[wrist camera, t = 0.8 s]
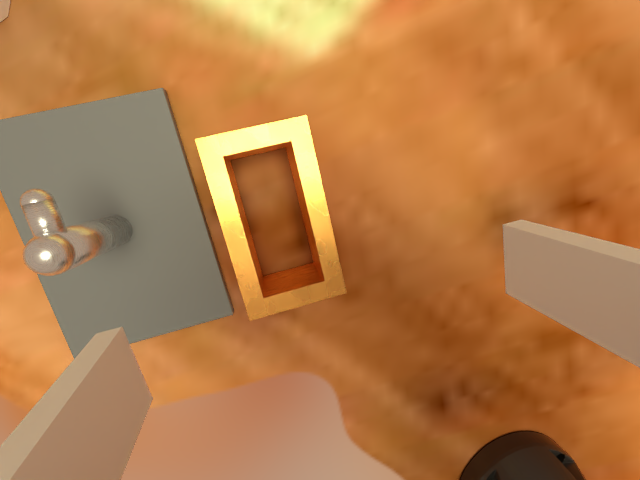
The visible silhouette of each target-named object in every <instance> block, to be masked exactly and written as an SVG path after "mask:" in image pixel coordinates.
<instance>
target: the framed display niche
mask: <svg viewBox="0 0 640 480" xmlns="http://www.w3.org/2000/svg"><path fill="white" fill-rule="evenodd" d="M195 141H196V145H197V148H198V151H199V155H200V158H201V161H202V165H203V168H204V171H205V175H206V178H207V181H208V184H209V188H210V191H211V194H212V198H213V201H214V204H215V208H216V211H217V214H218V218H219V221H220V224H221V228H222V231H223V234H224V238H225V241H226V244H227V248H228V251H229V254H230V258H231V261H232V264H233V268H234V271H235V274H236V278H237V281H238V284H239V288H240V291H241V294H242V298H243V301H244V304H245V308H246V311H247V314H248V318H249V321H252V320H255V319H259V318H262V317H266V316H269V315H273V314H276V313H280V312H283V311H287V310H290V309H293V308H297V307H300V306H304V305H307V304H311V303H314V302H318V301H321V300H325V299H328V298H332V297H335V296H339V295H342V294H346V293H347V292H346V287H345V283H344V278H343V274H342V270H341V265H340V261H339V256H338V252H337V248H336V243H335V239H334V234H333V230H332V225H331V221H330V217H329V212H328V208H327V203H326V199H325V195H324V190H323V186H322V181H321V177H320V172H319V168H318V164H317V159H316V155H315V150H314V146H313V142H312V137H311V133H310V128H309V124H308V119H307V115H305V116H300V117H295V118H291V119H286V120H282V121H277V122H273V123H268V124H263V125H259V126H254V127H250V128H245V129H240V130H236V131H231V132H227V133H222V134H217V135H213V136H208V137H204V138H199V139H195ZM282 148H286V151H287V155H288V160H289V164H290V168H291V172H292V176H293V180H294V184H295V188H296V192H297V196H298V200H299V205H300V209H301V213H302V217H303V221H304V225H305V229H306V233H307V237H308V241H309V245H310V250H311V254H312V258H313V262H314V263H310V264H306V265H302V266H299V267H295V268H291V269H288V270H284V271H280V272H277V273H273V274H269V275H266V276H263V275H262V271H261V267H260V264H259V260H258V257H257V253H256V250H255V246H254V243H253V239H252V235H251V232H250V228H249V225H248V221H247V218H246V214H245V211H244V207H243V204H242V200H241V196H240V193H239V189H238V186H237V182H236V179H235V175H234V172H233V168H232V165H231V161H230V160H234V159H238V158H242V157H247V156H251V155H256V154H260V153H264V152H269V151H273V150H278V149H282Z"/></svg>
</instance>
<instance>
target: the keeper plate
mask: <svg viewBox="0 0 640 480" xmlns="http://www.w3.org/2000/svg"><path fill="white" fill-rule="evenodd" d="M35 188H37V189H43V190H46V191H48V192H49V193H51V194H52V195H53V197H54V198H55V200H56V203H57V205H58V208H59V210H60V213H61V215H62V218H63V220H64V223H65V225H66V227H69V226H73V225H77V224H81V223H85V222H88V221H92V220H96V219H100V218H104V217H108V216H112V215H118V216H122V217H124V218H126V219H127V220H128V221H129V222H130V224H131V226H132V230H133V233H132V236H131V238H130V239H129V241H127V242H126V243H124V244H122V245H120V246H118V247H116V248H114V249H112V250H110V251H108V252H106V253H103V254H101V255H99V256H97V257H95V258H93V259H91V260H89V261H87V262H85V263H83V264H81V265H79V266H77V267H75V268H73V269H71V270H69V271H67V272H64V273H62V274H59V275H54V276H46V275H41V274H38V273H37V275H38V277H39V279H40V282H41V284H42V286H43V289H44V291H45V293H46V295H47V298H48V300H49V302H50V305H51V307H52V309H53V311H54V314H55V316H56V318H57V321H58V323H59V325H60V327H61V330H62V332H63V334H64V337H65V339H66V341H67V343H68V346H69V348H70V350H71V352H72V355H73V357H74V359H75V358H76V357H77V355H78V354H79V353H80V352H81V351H82V349H83V348H84V347H85V346H86V345H87V344H88V342H89V341H90V340H91V339H92V338H93V336H94V335H95V334H96V333H100V332H104V331H108V330H111V329H115V328H119V327H123V330H124V332H125V334H126V337H127V339H128V342H129V344H131V343H134V342H138V341H141V340H145V339H148V338H152V337H155V336H159V335H163V334H166V333H170V332H173V331H177V330H180V329H184V328H187V327H191V326H194V325H198V324H201V323H205V322H208V321H212V320H215V319H219V318H223V317H226V316H230V315H233V312H234V309H233V306H232V303H231V300H230V296H229V293H228V290H227V287H226V283H225V280H224V277H223V274H222V270H221V267H220V264H219V261H218V258H217V254H216V251H215V248H214V245H213V241H212V238H211V235H210V232H209V228H208V225H207V222H206V219H205V216H204V212H203V209H202V206H201V203H200V199H199V196H198V193H197V190H196V186H195V183H194V180H193V177H192V174H191V170H190V167H189V164H188V161H187V157H186V154H185V151H184V148H183V144H182V141H181V138H180V135H179V132H178V128H177V125H176V122H175V119H174V115H173V112H172V109H171V106H170V102H169V99H168V96H167V93H166V91H165V90H164V89H163V88H159V89H154V90H149V91H144V92H139V93H134V94H129V95H124V96H119V97H113V98H108V99H103V100H98V101H93V102H88V103H83V104H78V105H73V106H68V107H63V108H58V109H53V110H48V111H43V112H37V113H32V114H27V115H22V116H17V117H12V118H7V119H2V120H0V191H1V193H2V195H3V197H4V200H5V202H6V204H7V206H8V209H9V211H10V213H11V216H12V218H13V220H14V222H15V225H16V227H17V229H18V232H19V234H20V236H21V238H22V241H23V243H24V245H26V244H27V242H28V241H29V240H30V239H32V238H33V237H34V236H33V234H32V231H31V229H30V227H29V224H28V222H27V220H26V217H25V215H24V213H23V210H22V208H21V205H20V197H21V196H22V194H23V193H24V192H26V191H27V190H30V189H35Z"/></svg>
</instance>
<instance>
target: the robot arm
mask: <svg viewBox="0 0 640 480" xmlns="http://www.w3.org/2000/svg"><path fill="white" fill-rule="evenodd" d="M503 241H504V263H505V285H506V294H508V295H510V296H512V297H514V298H515V299H517V300H519V301H521V302H523V303H524V304H526V305H528V306H530V307H532V308H533V309H535V310H537V311H539V312H541V313H542V314H544V315H546V316H548V317H550V318H551V319H553V320H555V321H557V322H559V323H560V324H562V325H564V326H566V327H568V328H569V329H571V330H573V331H575V332H577V333H578V334H580V335H582V336H584V337H586V338H587V339H589V340H591V341H593V342H595V343H596V344H598V345H600V346H602V347H604V348H605V349H607V350H609V351H611V352H613V353H614V354H616V355H618V356H620V357H622V358H623V359H625V360H627V361H629V362H631V363H632V364H634V365H636V366H638V367H640V249H637V248H633V247H629V246H625V245H621V244H617V243H613V242H609V241H605V240H601V239H597V238H593V237H589V236H585V235H581V234H577V233H573V232H569V231H565V230H561V229H557V228H553V227H549V226H545V225H541V224H537V223H533V222H529V221H525V220H518V221H514V222H510V223H507V224H503ZM152 400H153V398H152V396H151V393H150V391H149V389H148V386H147V384H146V382H145V379H144V377H143V375H142V372H141V370H140V367H139V365H138V363H137V360H136V358H135V356H134V353H133V351H132V349H131V346H130V344H129V342H128V339H127V337H126V334H125V332H124V330H123V327H119V328H115V329H111V330H108V331H104V332H100V333H96V334H95V335H94V336H93V338H92V339H91V340H90V341H89V342H88V344H87V345H86V346H85V347H84V348H83V349H82V351H81V352H80V353H79V354H78V355H77V357H76V358H75V359H74V360H73V361H72V362H71V364H70V365H69V366H68V367H67V368H66V369H65V371H64V372H63V373H62V374H61V375H60V377H59V378H58V379H57V380H56V381H55V382H54V384H53V385H52V386H51V387H50V388H49V389H48V391H47V392H46V393H45V394H44V395H43V397H42V398H41V399H40V400H39V401H38V402H37V404H36V405H35V406H34V407H33V408H32V409H31V411H30V412H29V413H28V414H27V415H26V417H25V418H24V419H23V420H22V421H21V422H20V424H19V425H18V426H17V427H16V428H15V430H14V431H13V432H12V433H11V434H10V436H9V437H8V438H7V439H6V440H5V441H4V442H3V444H2V445H1V446H0V480H121V478H122V475H123V473H124V470H125V468H126V465H127V463H128V460H129V458H130V455H131V453H132V450H133V447H134V445H135V442H136V440H137V437H138V435H139V432H140V430H141V427H142V425H143V422H144V420H145V417H146V415H147V412H148V410H149V407H150V405H151V402H152ZM460 480H586V479H585V477H584V476H583V474H582V473H581V471H580V469H579V468H578V466H577V465H576V463H575V462H574V460H573V459H572V458H571V457H570V455H569V454H568V453H567V452H566V451H564V450H563V449H562V448H561V447H560V446H559V445H558V444H557V443H556V442H555V441H553V440H552V439H551V438H549V437H548V436H546V435H543V434H541V433H537V432H529V431H524V432H516V433H512V434H508V435H505V436H503V437H501V438H498V439H496V440H495V441H493V442H491V443H490V444H488V445H487V446H486V447H484V448H483V449H482V450H481V451H480V452H479V453H478V454H477V455H476V456H475V457H474V458H473V459H472V460H471V462H470V463H469V464H468V466H467V467H466V469H465V471H464V472H463V474H462V477H461V479H460Z"/></svg>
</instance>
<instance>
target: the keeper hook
mask: <svg viewBox="0 0 640 480" xmlns="http://www.w3.org/2000/svg"><path fill="white" fill-rule="evenodd" d="M20 205H21V208H22V210H23V213H24V215H25V217H26V220H27V222H28V224H29V227H30V229H31V231H32V234H33V236H34V237H33V238H32V239H30V240H29V241H28V242H27V244H26V245H25V247H24V250H23V260H24V262H25V264H26V265H27V267H28V268H29V269H30V270H32V271H33V272H35V273H38V274H41V275H46V276H54V275H59V274H62V273H64V272H67V271H69V270H71V269H73V268H75V267H77V266H79V265H81V264H83V263H85V262H87V261H89V260H91V259H93V258H95V257H97V256H99V255H101V254H103V253H106V252H108V251H110V250H112V249H114V248H116V247H118V246H120V245H122V244H124V243H126V242H127V241H129V239H130V238H131V236H132V233H133V230H132V226H131V224H130V222H129V221H128V220H127V219H126V218H124V217H122V216H118V215H112V216H108V217H104V218H100V219H96V220H92V221H88V222H85V223H81V224H77V225H73V226H69V227H66V225H65V223H64V220H63V218H62V215H61V213H60V210H59V208H58V205H57V203H56V200H55V198H54V197H53V195H52V194H51V193H49V192H48V191H46V190H43V189H37V188H35V189H30V190H27V191H26V192H24V193H23V194H22V196H21V197H20Z"/></svg>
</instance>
